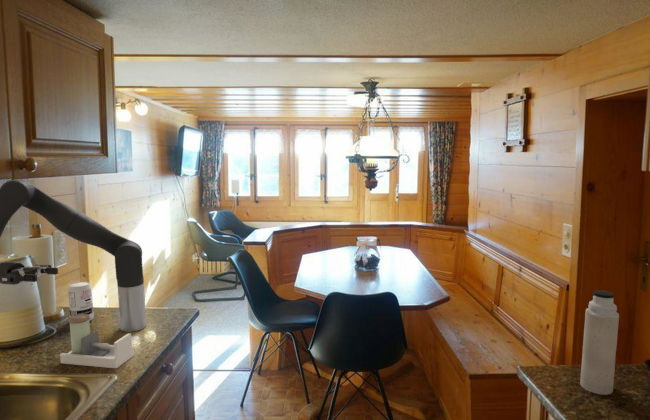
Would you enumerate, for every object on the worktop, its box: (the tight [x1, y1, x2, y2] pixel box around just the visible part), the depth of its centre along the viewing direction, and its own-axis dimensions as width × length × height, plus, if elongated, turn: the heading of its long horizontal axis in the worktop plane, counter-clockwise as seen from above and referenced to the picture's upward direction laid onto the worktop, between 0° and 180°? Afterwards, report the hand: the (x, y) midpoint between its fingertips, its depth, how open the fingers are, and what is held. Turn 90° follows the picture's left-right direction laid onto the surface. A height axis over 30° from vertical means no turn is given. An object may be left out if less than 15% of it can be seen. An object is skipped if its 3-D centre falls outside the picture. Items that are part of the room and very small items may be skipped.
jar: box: [68, 314, 91, 355], centre depth 145 cm, size 6×6×13 cm
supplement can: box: [67, 281, 95, 322], centre depth 178 cm, size 8×8×15 cm
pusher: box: [81, 330, 110, 356], centre depth 145 cm, size 7×7×7 cm
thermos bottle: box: [579, 290, 620, 396], centre depth 125 cm, size 8×8×28 cm
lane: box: [59, 332, 135, 369], centre depth 145 cm, size 20×9×8 cm, turn 79°
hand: (47, 274), depth 145 cm, fingers open, 8 cm apart
